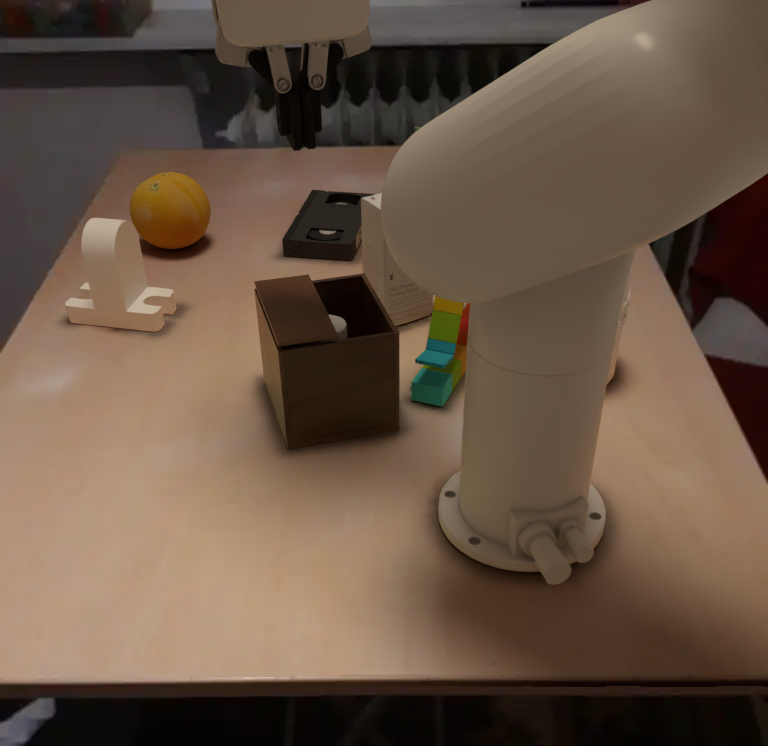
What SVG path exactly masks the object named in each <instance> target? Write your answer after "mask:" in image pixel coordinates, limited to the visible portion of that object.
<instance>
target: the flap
mask: <svg viewBox="0 0 768 746" xmlns="http://www.w3.org/2000/svg"><path fill="white" fill-rule="evenodd" d="M312 281H313V280H312V278H311V276H310V274H309V273H308V274H302V275H301V274H300V275H294V276H285V277H278V278H269V279H261V280H254V281H253V282H254V286H255V289H257V292H258V295H259V297H260V300H261V302H262V305H263V308H264V310H265V313H266V315H267V318H268V321H269V323H270V326H271V329H272V331H273V334H274V336H275V339H276V342H277V344H278V346H286V345H293V344H300V343H307V342H314V341H321V340H328V339H335V338H338V334H337V332H336V330H335V328H334V326H333V324H332V321H331V319H330V317H329V315H328V313H327V311H326V309H325V307H324V305H323V303H322V301H321V299H320V297H319V295H318V293H317V290H316V288H315V286H314V284H313V282H312Z"/></svg>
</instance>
